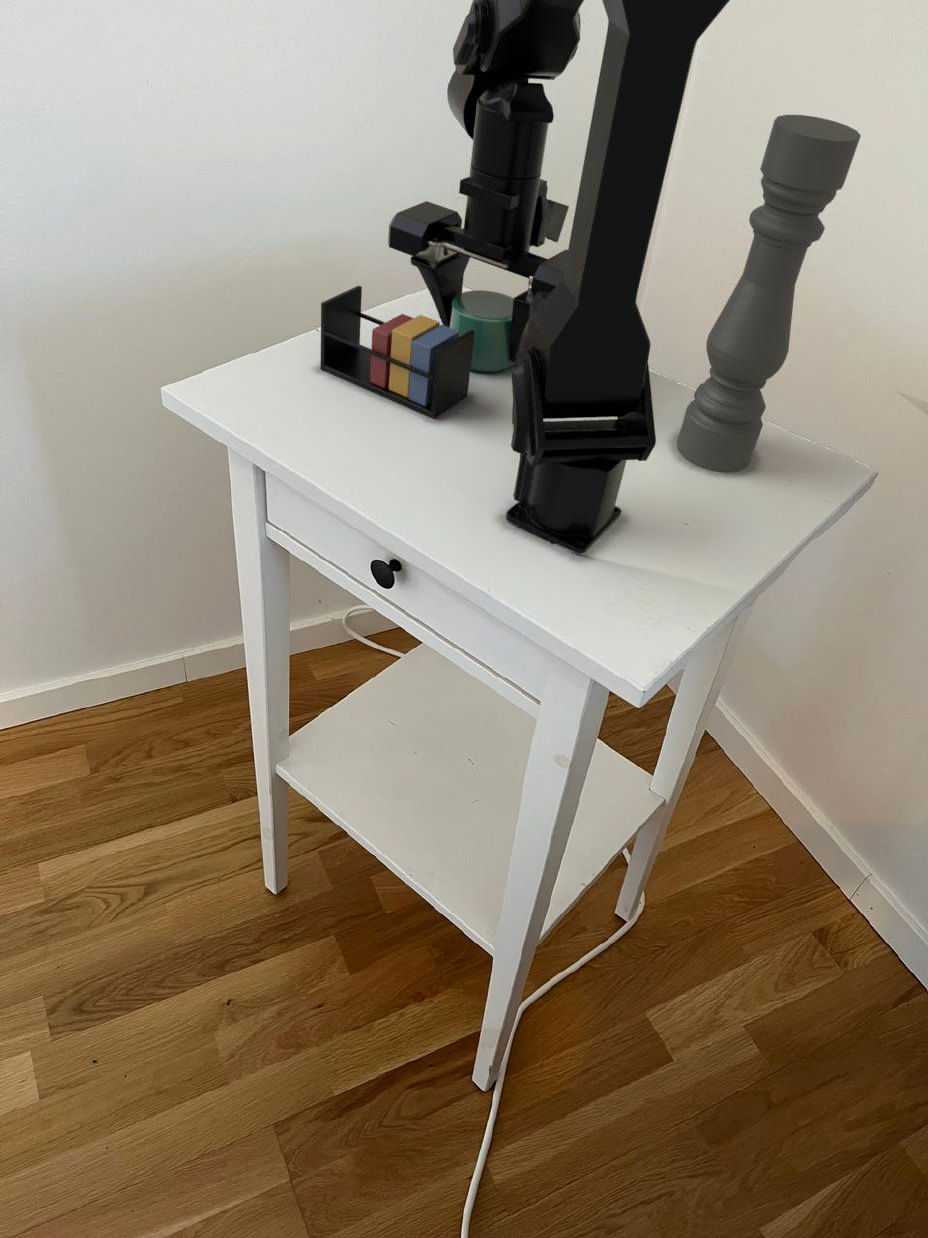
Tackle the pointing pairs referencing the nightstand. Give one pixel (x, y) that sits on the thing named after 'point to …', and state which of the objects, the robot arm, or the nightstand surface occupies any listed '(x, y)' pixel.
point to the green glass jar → (485, 327)
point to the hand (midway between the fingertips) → (482, 347)
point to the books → (408, 354)
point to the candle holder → (765, 289)
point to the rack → (355, 360)
